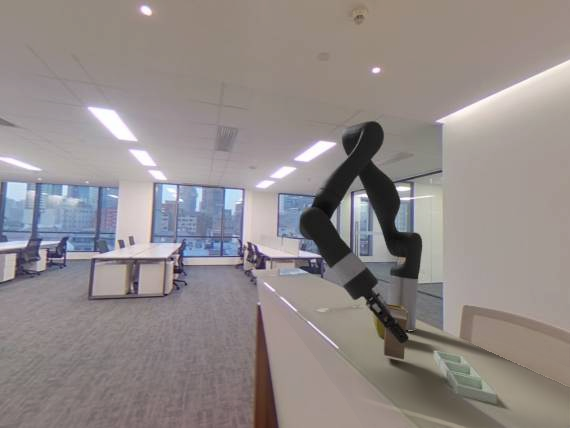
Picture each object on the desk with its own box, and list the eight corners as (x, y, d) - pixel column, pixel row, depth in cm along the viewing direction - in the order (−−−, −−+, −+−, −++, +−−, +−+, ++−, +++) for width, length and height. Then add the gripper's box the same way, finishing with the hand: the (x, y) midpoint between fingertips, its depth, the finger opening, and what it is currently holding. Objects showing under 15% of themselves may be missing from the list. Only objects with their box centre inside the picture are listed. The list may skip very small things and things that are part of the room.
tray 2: (439, 369, 60) (440, 359, 60) (471, 376, 58) (471, 366, 58) (446, 381, 54) (447, 370, 54) (481, 389, 52) (482, 378, 52)
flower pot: (407, 345, 74) (409, 312, 75) (374, 339, 76) (376, 307, 77) (400, 336, 82) (402, 306, 83) (370, 330, 84) (372, 301, 85)
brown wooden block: (383, 349, 63) (386, 305, 64) (401, 353, 62) (404, 308, 63) (384, 355, 59) (387, 308, 60) (404, 359, 58) (407, 312, 59)
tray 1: (433, 358, 66) (433, 350, 66) (461, 365, 64) (461, 356, 64) (439, 368, 60) (439, 359, 60) (470, 375, 58) (470, 365, 59)
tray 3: (447, 382, 54) (448, 371, 54) (482, 390, 52) (483, 379, 52) (456, 397, 48) (457, 385, 48) (496, 407, 46) (496, 394, 46)
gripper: (365, 267, 58) (423, 337, 53) (366, 264, 72) (413, 320, 66) (338, 287, 59) (393, 358, 54) (344, 281, 73) (388, 338, 67)
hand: (403, 337), depth 60 cm, fingers closed on brown wooden block, 4 cm apart
